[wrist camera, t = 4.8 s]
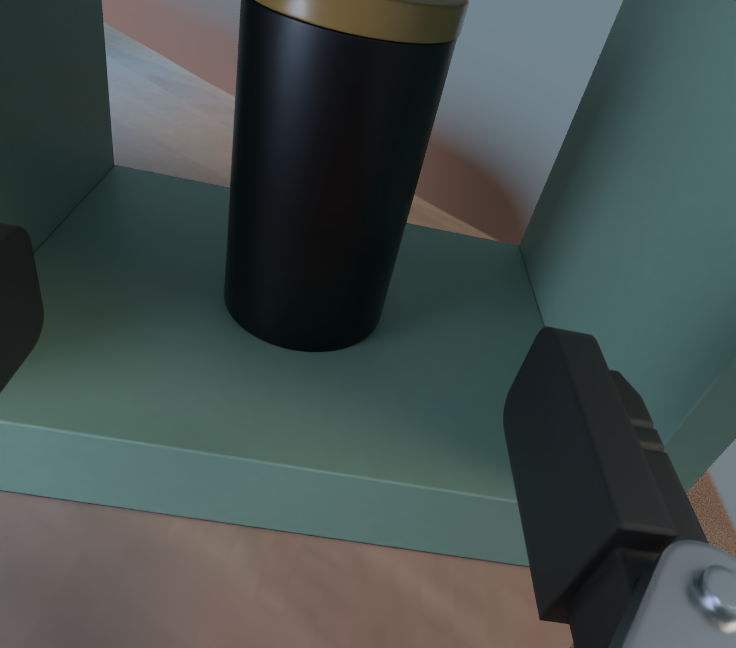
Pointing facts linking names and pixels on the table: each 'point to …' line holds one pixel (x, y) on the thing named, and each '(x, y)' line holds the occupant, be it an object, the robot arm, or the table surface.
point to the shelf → (398, 318)
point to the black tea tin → (328, 159)
